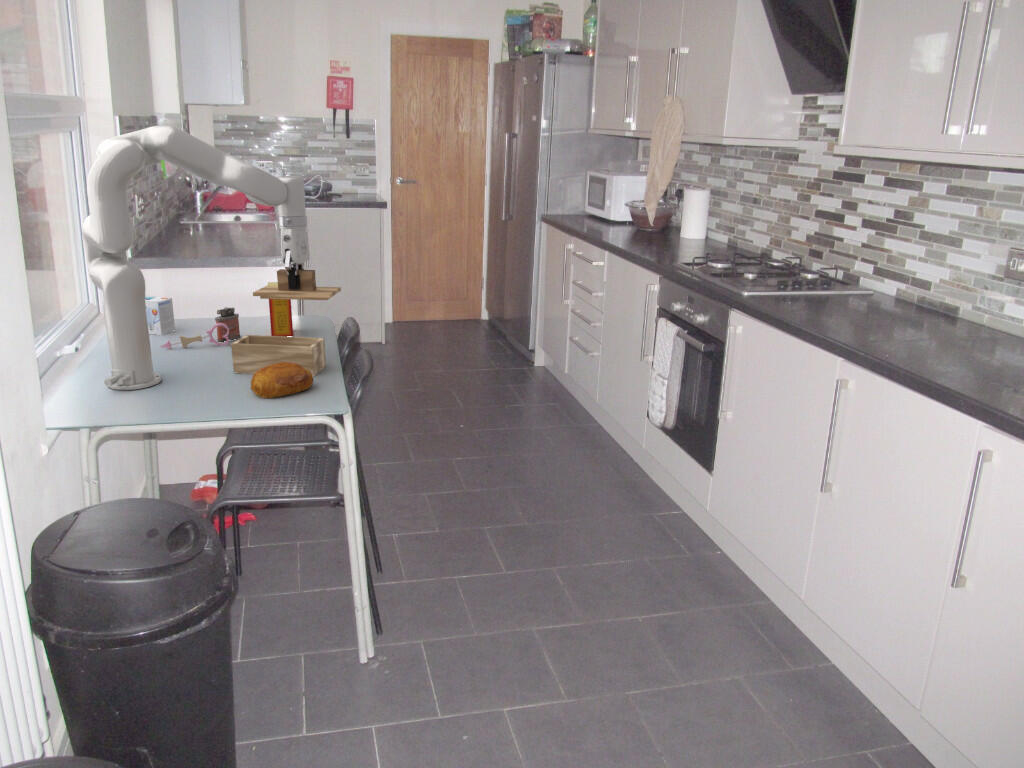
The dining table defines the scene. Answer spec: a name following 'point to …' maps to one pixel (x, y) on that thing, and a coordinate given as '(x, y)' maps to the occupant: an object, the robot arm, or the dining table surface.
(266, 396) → the croissant
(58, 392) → the dining table surface
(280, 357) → the open wooden crate
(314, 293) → the wooden block with riser
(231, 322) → the lighter
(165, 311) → the light bulb box
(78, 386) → the dining table surface
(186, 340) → the decorative key
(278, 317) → the baking soda box
